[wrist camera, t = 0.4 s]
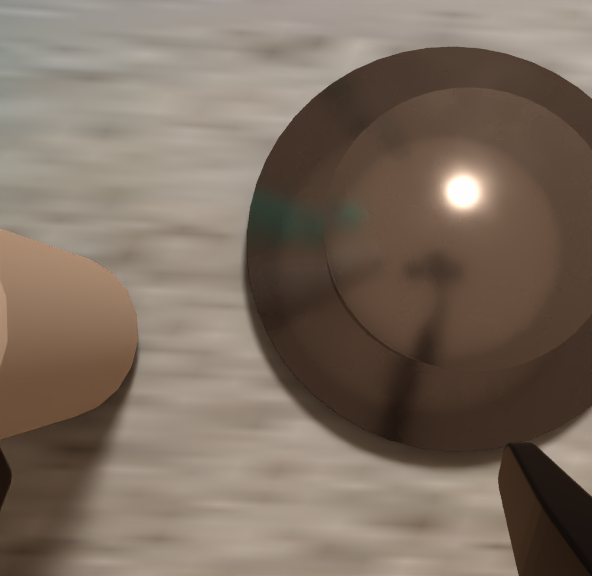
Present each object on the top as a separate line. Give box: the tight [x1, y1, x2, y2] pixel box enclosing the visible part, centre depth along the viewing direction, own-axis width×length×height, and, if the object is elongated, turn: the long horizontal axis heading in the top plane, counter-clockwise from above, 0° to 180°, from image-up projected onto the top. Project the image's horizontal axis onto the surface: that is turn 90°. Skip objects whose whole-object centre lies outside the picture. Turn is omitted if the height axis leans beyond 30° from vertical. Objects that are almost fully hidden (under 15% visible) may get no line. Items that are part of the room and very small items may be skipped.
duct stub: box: [247, 47, 592, 451], centre depth 21 cm, size 18×18×4 cm
